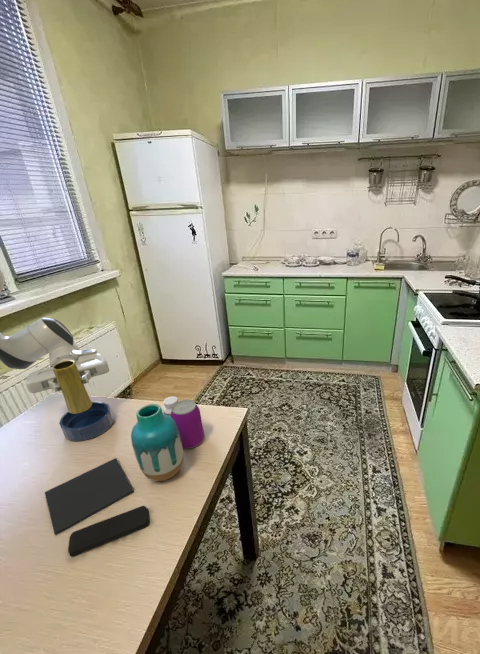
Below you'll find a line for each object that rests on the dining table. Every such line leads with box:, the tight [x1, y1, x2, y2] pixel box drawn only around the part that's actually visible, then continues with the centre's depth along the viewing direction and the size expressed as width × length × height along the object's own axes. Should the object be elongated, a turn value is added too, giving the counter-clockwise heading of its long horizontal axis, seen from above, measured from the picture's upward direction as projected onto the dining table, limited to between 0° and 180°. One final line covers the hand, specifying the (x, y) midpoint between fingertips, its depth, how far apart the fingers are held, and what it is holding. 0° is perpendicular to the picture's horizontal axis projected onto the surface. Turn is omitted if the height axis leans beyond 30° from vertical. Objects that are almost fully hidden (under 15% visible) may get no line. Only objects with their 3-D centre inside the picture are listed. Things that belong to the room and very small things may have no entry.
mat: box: [44, 457, 135, 536], centre depth 77 cm, size 16×14×1 cm
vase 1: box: [53, 360, 93, 414], centre depth 90 cm, size 6×6×14 cm
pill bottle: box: [162, 396, 179, 417], centre depth 96 cm, size 5×5×9 cm
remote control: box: [67, 505, 151, 558], centre depth 67 cm, size 5×2×15 cm
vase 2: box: [130, 403, 184, 482], centre depth 77 cm, size 11×11×19 cm
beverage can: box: [170, 399, 205, 449], centre depth 89 cm, size 8×8×12 cm
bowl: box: [58, 401, 115, 442], centre depth 97 cm, size 13×13×4 cm
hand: (71, 385), depth 89 cm, fingers closed on vase 1, 5 cm apart
